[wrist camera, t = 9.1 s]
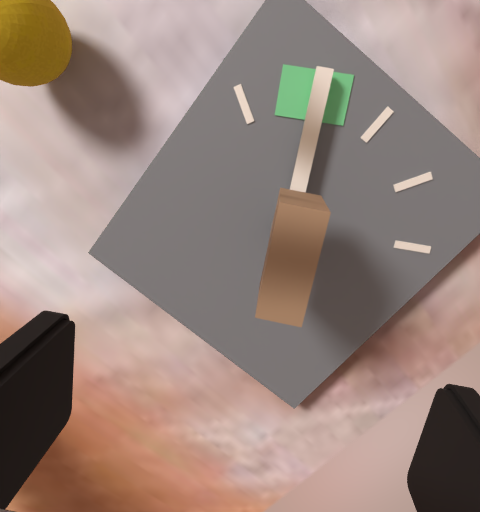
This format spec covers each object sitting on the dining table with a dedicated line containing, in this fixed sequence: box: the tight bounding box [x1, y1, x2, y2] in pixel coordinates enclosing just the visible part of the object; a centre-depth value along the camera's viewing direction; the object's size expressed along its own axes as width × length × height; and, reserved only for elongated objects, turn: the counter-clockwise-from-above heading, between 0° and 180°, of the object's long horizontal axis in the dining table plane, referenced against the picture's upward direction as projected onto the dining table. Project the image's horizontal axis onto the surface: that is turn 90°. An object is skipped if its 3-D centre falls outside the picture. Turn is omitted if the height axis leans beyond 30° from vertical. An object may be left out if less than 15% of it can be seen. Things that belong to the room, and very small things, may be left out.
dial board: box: [88, 0, 480, 409], centre depth 29 cm, size 22×20×2 cm
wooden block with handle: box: [255, 66, 334, 327], centre depth 23 cm, size 13×2×9 cm, turn 170°
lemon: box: [0, 0, 72, 86], centre depth 24 cm, size 6×6×8 cm
